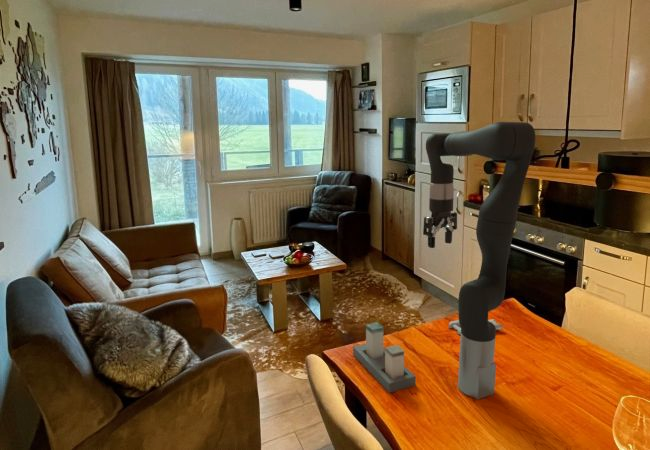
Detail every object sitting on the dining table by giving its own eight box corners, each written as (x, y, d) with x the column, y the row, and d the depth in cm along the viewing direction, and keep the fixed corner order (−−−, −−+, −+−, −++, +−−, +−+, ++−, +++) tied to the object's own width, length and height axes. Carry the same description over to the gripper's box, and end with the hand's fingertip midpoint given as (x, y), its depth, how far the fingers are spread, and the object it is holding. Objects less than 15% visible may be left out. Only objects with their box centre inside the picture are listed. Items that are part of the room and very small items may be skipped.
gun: (489, 312, 166) (504, 324, 156) (489, 320, 167) (504, 333, 157) (445, 319, 163) (458, 332, 153) (445, 327, 164) (458, 341, 154)
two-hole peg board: (415, 385, 127) (416, 352, 125) (389, 392, 124) (389, 360, 122) (376, 348, 148) (376, 320, 146) (353, 354, 145) (352, 326, 142)
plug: (383, 361, 140) (383, 327, 137) (372, 364, 138) (372, 329, 135) (376, 355, 143) (376, 321, 140) (366, 358, 141) (366, 324, 139)
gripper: (436, 200, 132) (435, 251, 136) (464, 195, 140) (462, 243, 144) (417, 198, 138) (416, 247, 141) (445, 193, 146) (444, 239, 150)
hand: (440, 245), depth 143 cm, fingers open, 8 cm apart
